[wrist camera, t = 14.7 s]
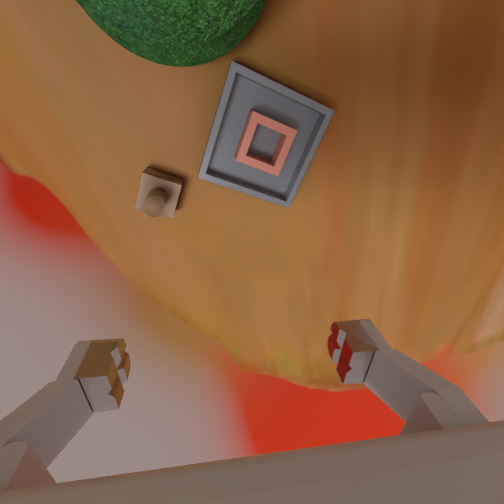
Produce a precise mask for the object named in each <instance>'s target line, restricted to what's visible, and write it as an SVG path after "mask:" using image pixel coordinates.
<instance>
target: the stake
mask: <svg viewBox="0 0 504 504" xmlns="http://www.w3.org/2000/svg"><path fill="white" fill-rule="evenodd" d="M182 183H183V179H181V178H178V177H175V176H172V175H169V174H166V173H163V172H160V171H156V170H153V169H150V168H146V169H145V170H144V171H143V172H142V177H141V182H140V187H139V192H138V197H137V202H136V207H135V208H136V209H140V210H143V211H144V212H145V213H146V214H147V215H149V216H152V217H157V216H159V215H161V216H165V217H168V218H172V219H173V216H174V212H175V209H176V205H177V201H178V198H179V194H180V190H181V187H182Z"/></svg>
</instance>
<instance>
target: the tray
mask: <svg viewBox="0 0 504 504" xmlns="http://www.w3.org/2000/svg"><path fill="white" fill-rule="evenodd" d="M250 110H252V111H254V112H257V113H259V114H261V115H263V116H266V117H268V118H270V119H272V120H275V121H277V122H279V123H281V124H284V125H286V126H288V127H290V128H293V129H295V130H297V133H296V135H295V138H294V140H293V142H292V145H291V147H290V149H289V152H288V154H287V156H286V159H285V161H284V163H283V166H282V168H281V170H280V173H279V175H278V176H276V175H273V174H270V173H268V172H265V171H262V170H260V169H257V168H254V167H252V166H249V165H247V164H244V163H241V162H239V161H236V160H235V157H234V154H235V151H236V148H237V145H238V143H239V140H240V137H241V134H242V131H243V128H244V125H245V122H246V119H247V116H248V114H249V111H250ZM333 113H334V110H332V109H330V108H328V107H326V106H324V105H322V104H320V103H318V102H316V101H314V100H312V99H310V98H307V97H305V96H303V95H301V94H299V93H297V92H295V91H293V90H291V89H289V88H287V87H285V86H283V85H281V84H279V83H277V82H275V81H273V80H270V79H268V78H266V77H264V76H262V75H260V74H258V73H256V72H254V71H252V70H250V69H248V68H246V67H244V66H242V65H240V64H238V63H236V62H233V61H231V63H230V66H229V69H228V72H227V76H226V79H225V83H224V86H223V90H222V93H221V96H220V100H219V103H218V107H217V110H216V114H215V117H214V121H213V124H212V127H211V131H210V134H209V138H208V141H207V145H206V148H205V151H204V155H203V158H202V162H201V165H200V169H199V172H198V178H201V179H204V180H207V181H210V182H212V183H215V184H218V185H221V186H224V187H227V188H230V189H233V190H236V191H239V192H242V193H245V194H248V195H251V196H254V197H257V198H260V199H263V200H266V201H269V202H272V203H274V204H277V205H280V206H283V207H286V208H289V207H290V205H291V203H292V201H293V199H294V197H295V194H296V192H297V190H298V188H299V186H300V184H301V182H302V179H303V177H304V175H305V173H306V171H307V169H308V167H309V164H310V162H311V160H312V158H313V156H314V154H315V152H316V149H317V147H318V145H319V143H320V141H321V139H322V137H323V134H324V132H325V130H326V128H327V126H328V124H329V121H330V119H331V117H332V115H333ZM280 135H281V133H280V132H277V131H275V130H273V129H270V128H268V127H266V126H263V125H261V124H259V123H258V124H257V126H256V129H255V132H254V135H253V137H252V140H251V143H250V146H249V148H248V151H247V153H249V154H251V155H254V156H256V157H259V158H261V159H264V160H267V161H269V162H270V160H271V157H272V155H273V152H274V150H275V148H276V145H277V143H278V140H279V138H280Z"/></svg>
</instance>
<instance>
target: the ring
mask: <svg viewBox="0 0 504 504" xmlns="http://www.w3.org/2000/svg"><path fill="white" fill-rule="evenodd" d="M258 123H259V124H261V125H263V126H266V127H268V128H270V129H273V130H275V131H277V132H280V133H281V135H280V138H279V140H278V143H277V145H276V148H275V150H274V152H273V155H272V157H271V160H270V162H269V161H267V160H264V159H261V158H259V157H256V156H254V155H251V154H249V153H247V151H248V148H249V146H250V143H251V140H252V137H253V135H254V132H255V129H256V126H257V124H258ZM296 133H297V130H295V129H293V128H290V127H288V126H286V125H284V124H281V123H279V122H277V121H275V120H272V119H270V118H268V117H266V116H263V115H261V114H259V113H257V112H254V111H252V110H250V111H249V114H248V116H247V119H246V122H245V125H244V128H243V131H242V134H241V137H240V140H239V143H238V145H237V148H236V151H235V154H234V157H235V160H236V161H239V162H241V163H244V164H247V165H249V166H252V167H254V168H257V169H260V170H262V171H265V172H268V173H270V174H273V175H276V176H278V175H279V173H280V170H281V168H282V166H283V163H284V161H285V159H286V156H287V154H288V152H289V149H290V147H291V145H292V142H293V140H294V138H295V135H296Z"/></svg>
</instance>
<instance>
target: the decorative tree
mask: <svg viewBox="0 0 504 504" xmlns="http://www.w3.org/2000/svg"><path fill="white" fill-rule="evenodd" d="M76 1H77V2H78V3H79V4H80V5H81V7H82V8H83V9H84V10H85V12H86V13H87V14H88V15H89V16H90V18H91V19H92V20H93V21H94V22H95V23H96V24H97V25H98V26H99V27H100V28H101V29H102V30H103V31H104V32H105V33H106V34H107V35H108V36H109V37H111V38H112V39H113V40H114V41H116V42H117V43H118V44H120V45H121V46H123V47H124V48H126V49H127V50H129V51H130V52H132V53H134V54H136V55H138V56H140V57H142V58H144V59H147V60H149V61H152V62H155V63H158V64H163V65H168V66H177V67H186V66H195V65H200V64H204V63H207V62H210V61H213V60H215V59H217V58H219V57H221V56H222V55H224V54H226V53H227V52H229V51H230V50H231V49H233V48H234V47H235V46H236V45H237V44H238V43H239V42H240V41H241V40H242V39H243V38H244V37H245V36H246V35H247V33H248V32H249V31H250V30H251V28H252V27H253V25H254V24H255V22H256V21H257V19H258V17H259V16H260V14H261V12H262V10H263V8H264V5H265V3H266V1H267V0H76Z"/></svg>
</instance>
